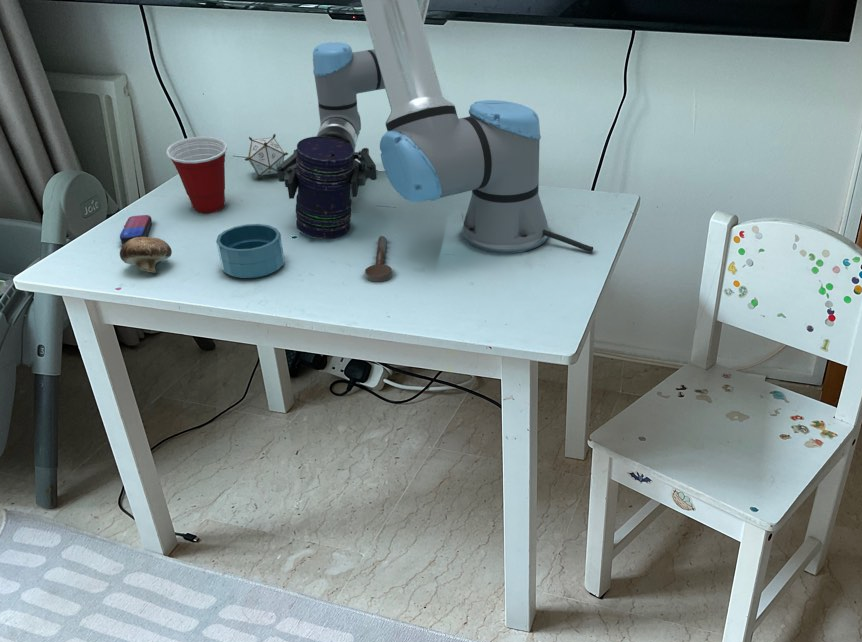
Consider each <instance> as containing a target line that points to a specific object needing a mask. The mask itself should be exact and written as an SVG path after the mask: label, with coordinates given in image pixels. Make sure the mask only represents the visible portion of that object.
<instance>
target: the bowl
mask: <svg viewBox="0 0 862 642" xmlns="http://www.w3.org/2000/svg"><path fill="white" fill-rule="evenodd" d="M282 242H283V241H282V235H281V232H280V231H279V230H278V228H277V227H275V226H272V225H269V224H261V223H248V224H241V225H236V226H233V227H230V228H228V229H225V230H223V231H222V232H221V233H219V234H218V235H217V237H216V240H215V243H216V248H217V252H218V257H219V262H220V267H221V269H222V271H223V272H224V273H225V274H227V275H229V276H231V277H235V278H240V279H256V278H262V277H265V276H268V275H271V274H272V273H274V272H276V271H278V270H279V269H280V268H281V267H283V266H284V263H285V254H284V253H285V252H284V247H283V243H282Z"/></svg>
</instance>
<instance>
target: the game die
mask: <svg viewBox="0 0 862 642" xmlns="http://www.w3.org/2000/svg"><path fill="white" fill-rule="evenodd" d="M276 136H277V135H276V133H274V134H273V135H272V137H264V138H257V139H253V138H252V137H251V136H248V139H249V141H250V145H249V146H250V147H249V151H248V156H247V157H245V158H244V161H247V162H249V163H250V165H251V167H252V168H253V169H254V171H255V173H256V174H257V177H256V179H257V181H258V180H259V179H260V178H261V176H268V175H269V176H270V175H278V173H277V167H278V166H279V165H280V164H281V163H283V162H284V161H285V156H288V155H289V153H288V152H287V151H286V152H284V150H283V149H282V147H281V146H280V144H279V142H278V141H277V140H276V139H275V138H276Z"/></svg>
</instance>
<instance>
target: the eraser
mask: <svg viewBox="0 0 862 642" xmlns="http://www.w3.org/2000/svg"><path fill="white" fill-rule="evenodd" d="M152 219H153V218H152V216H151V215H149V214H140V215H132V216H129V217H128V218H127V220H126V222H125V224H124V226H123V228H122V230H121V233H120V234H119V240H120V242H121V244H122V246H123V245H124V244H125V243H126V242H127V241H129V240H130V239H133V238H137V237H148V235H149V232H150V230H151V228H152V225H153V220H152Z"/></svg>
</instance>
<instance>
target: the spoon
mask: <svg viewBox="0 0 862 642" xmlns="http://www.w3.org/2000/svg"><path fill="white" fill-rule="evenodd" d="M377 240H378V241H377V248H376V257H375V263H374V264H372V265H369V266H368V267H366V268H365V270H364V274H365V278H366V279H367V280H368V281H370V282H375V283H381V282H385V281H388V280H390V279H392V278H393V269H392V267H391V266H390V265H388V264H385V257H386V250H387V249H386V248H387V237H386V236H384V235H379V237H378V239H377Z"/></svg>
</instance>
